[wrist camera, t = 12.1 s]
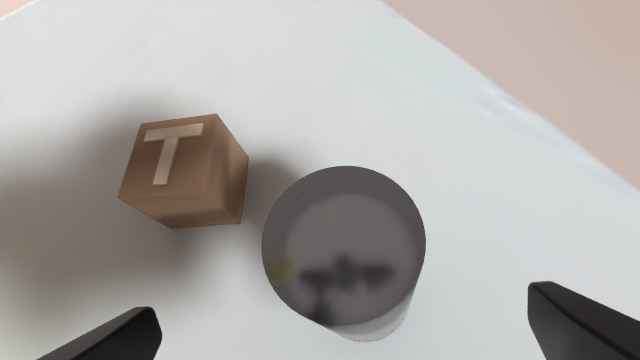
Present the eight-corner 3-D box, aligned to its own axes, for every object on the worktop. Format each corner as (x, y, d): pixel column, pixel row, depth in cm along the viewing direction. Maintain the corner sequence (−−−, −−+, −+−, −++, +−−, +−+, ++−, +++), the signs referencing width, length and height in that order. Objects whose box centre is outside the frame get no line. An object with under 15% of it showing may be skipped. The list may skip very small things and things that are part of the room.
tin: (417, 340, 16) (441, 321, 8) (317, 343, 17) (256, 328, 9) (402, 242, 19) (411, 157, 11) (316, 248, 19) (266, 174, 12)
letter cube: (241, 223, 21) (200, 188, 17) (171, 228, 22) (115, 196, 18) (249, 156, 24) (215, 110, 19) (186, 163, 25) (140, 120, 20)
